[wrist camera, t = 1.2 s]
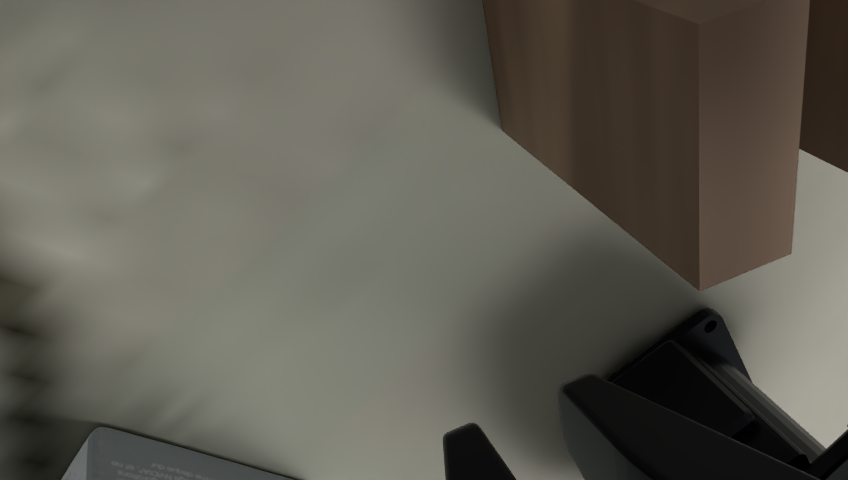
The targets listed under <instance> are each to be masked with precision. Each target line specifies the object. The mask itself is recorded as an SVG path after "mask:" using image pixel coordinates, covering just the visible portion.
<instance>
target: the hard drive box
mask: <svg viewBox="0 0 848 480" xmlns="http://www.w3.org/2000/svg"><path fill="white" fill-rule="evenodd" d="M61 480H293V479H290V478H286V477H283V476H279V475H276V474H272V473H268V472H265V471H261V470H258V469H254V468H251V467H248V466H244V465H241V464H237V463H234V462H230V461H227V460H223V459H220V458H216V457H212V456H209V455H205V454H202V453H198V452H195V451H191V450H188V449H185V448H181V447H177V446H174V445H170V444H166V443H162V442H159V441H155V440H151V439H148V438H144V437H140V436H137V435H133V434H130V433H126V432H122V431H119V430H115V429H111V428H107V427H98V428H96V429H95V430H93V431H92V433H91V434H90V436H89V437H88V438H87V440H86V441H85V443H84V444H83V446H82V447H81V449H80V450H79V452H78V454H77V455H76V457H75V458H74V460H73V461H72V463H71V464H70V466H69V468H68V469H67V471H66V473H65V474H64V476H63V477H62V479H61Z"/></svg>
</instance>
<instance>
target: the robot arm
mask: <svg viewBox="0 0 848 480" xmlns="http://www.w3.org/2000/svg"><path fill="white" fill-rule="evenodd" d="M558 402H559V409H560V416H561V423H562V430H563V436H564V440H565V443H566V445H567V448H568V450H569V452H570V454H571V456H572V458H573V460H574V461H575V463H576V465H577V467H578V468H579V470H580V472H581V474H582V475H583V477H584V479H585V480H848V430H847V431H846V432H844V433H843V434H842V435H841V436H840V437H839V438H838V439H837V440H836V441H835V442H834V443H833V444H831V445H830V446H829V447H828V448H827V449H826V448H825V447H824V446H823V445H821V444H820V443H819V442H818V441H817V440H816V439H815V438H814V437H813V436H811V435H810V434H809V433H808V432H807V431H806V430H805V429H804V428H802V427H801V426H800V425H799V424H798V423H797V422H796V421H795V420H793V419H792V418H791V417H790V416H789V415H788V414H787V413H786V412H784V411H783V410H782V409H781V408H780V407H779V406H778V405H777V404H775V403H774V402H773V401H772V400H771V399H770V398H769V397H768V396H766V395H765V394H764V393H763V392H762V391H761V390H760V389H759V388H757V387H756V386H755V385H754V384H753V383H752V381H751V379H750V377H749V375H748V372H747V370H746V368H745V366H744V364H743V362H742V359H741V357H740V355H739V353H738V351H737V349H736V346H735V344H734V342H733V340H732V338H731V336H730V334H729V331H728V329H727V327H726V325H725V323H724V321H723V318H722V317H721V316H720V315H719V314H718V313H717V312H715V311H714V310H713V309H710V308H706V309H703V310H701V311H699V312H698V313H696V314H695V315H694V316H692V317H691V318H690V319H688V320H687V321H686V322H684V323H683V324H682V325H680V326H679V327H678V328H676V329H675V330H674V331H672V332H671V333H670V334H668V335H667V336H666V337H664V338H663V339H662V340H660V341H659V342H658V343H656V344H655V345H654V346H652V347H651V348H649V349H648V350H647V351H645V352H644V353H643V354H641V355H640V356H639V357H637V358H636V359H635V360H633V361H632V362H631V363H629V364H628V365H627V366H625V367H624V368H623V369H621V370H620V371H619V372H617V373H616V374H615V375H613V376H612V377H611V378H609V379H608V380H604V379H602V378H600V377H598V376H596V375H592V374H585V375H583V376H580V377H578V378H575V379H573V380H571V381H568V382H566V383H564V384H562V385H561V386H560V387H559V388H558ZM847 427H848V425H847ZM443 451H444V463H445V476H446V480H516V478H515V477H514V475H513V474H512V473H511V471H510V470H509V468H508V467H507V465H506V464H505V462H504V461H503V460H502V458H501V457H500V455H499V454H498V452H497V451H496V450H495V448H494V447H493V445H492V444H491V442H490V441H489V439H488V438H487V437H486V435H485V434H484V432H483V431H482V429H481V428H480V427H479V426H478V425H477V424H475V423H468V424H466V425H464V426H461V427H459V428H456V429H454V430H452V431H449V432H447V433H446V434H445V435H444V436H443Z"/></svg>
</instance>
